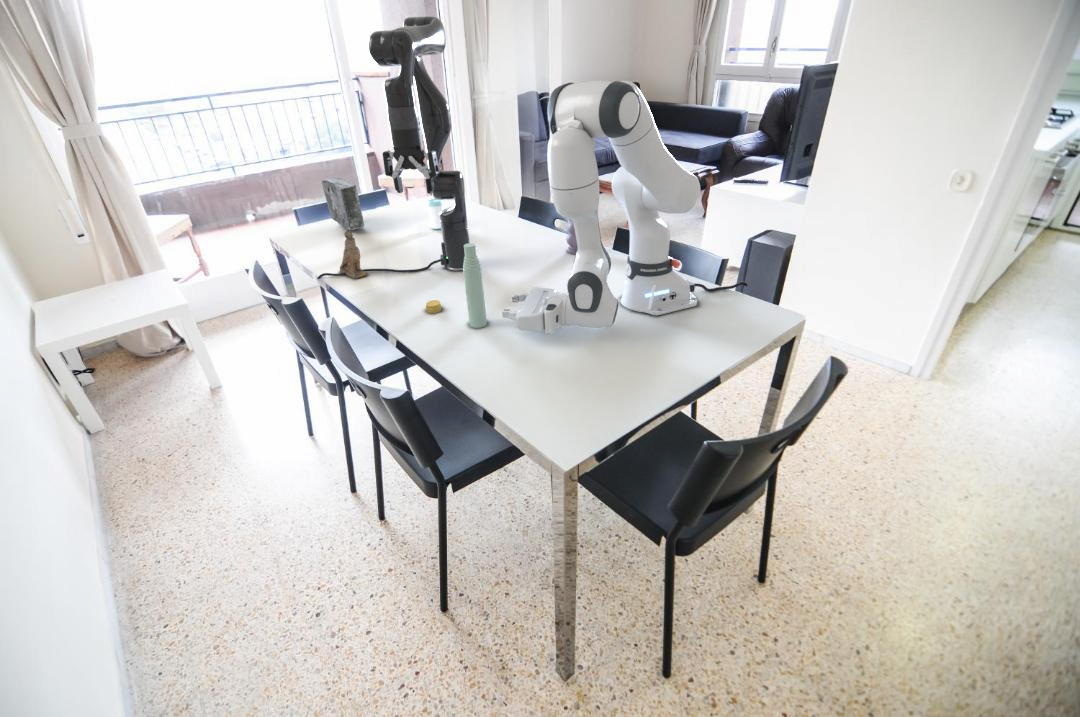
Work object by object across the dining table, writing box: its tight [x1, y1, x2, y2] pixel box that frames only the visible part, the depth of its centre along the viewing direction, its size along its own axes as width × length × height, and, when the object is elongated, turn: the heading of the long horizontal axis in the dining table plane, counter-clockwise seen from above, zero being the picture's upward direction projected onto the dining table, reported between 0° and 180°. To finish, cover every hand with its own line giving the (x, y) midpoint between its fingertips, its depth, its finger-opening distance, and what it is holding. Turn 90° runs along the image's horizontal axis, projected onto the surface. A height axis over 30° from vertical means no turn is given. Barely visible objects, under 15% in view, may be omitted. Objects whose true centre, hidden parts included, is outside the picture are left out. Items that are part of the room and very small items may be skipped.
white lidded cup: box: [426, 198, 445, 230], centre depth 220 cm, size 7×7×12 cm
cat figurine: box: [565, 219, 578, 255], centre depth 187 cm, size 9×8×12 cm
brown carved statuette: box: [339, 230, 367, 280], centre depth 174 cm, size 12×6×18 cm, turn 43°
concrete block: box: [321, 177, 365, 231], centre depth 223 cm, size 27×9×20 cm, turn 36°
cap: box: [425, 299, 442, 314], centre depth 150 cm, size 4×4×2 cm
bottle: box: [462, 242, 488, 329], centre depth 135 cm, size 5×5×23 cm
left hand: (415, 192), depth 132 cm, fingers open, 8 cm apart
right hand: (507, 305), depth 137 cm, fingers open, 8 cm apart
